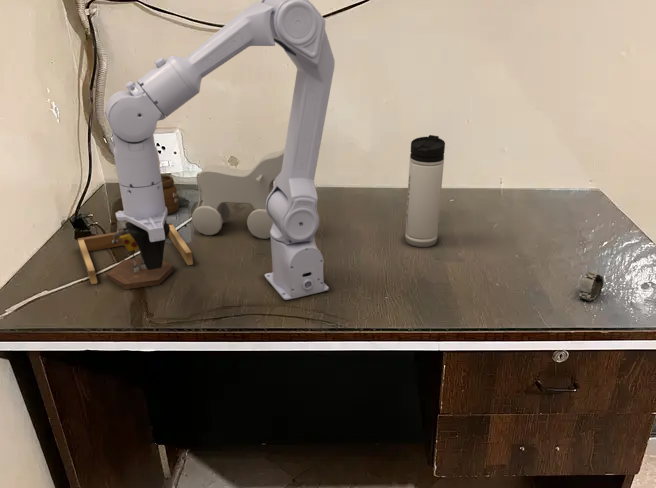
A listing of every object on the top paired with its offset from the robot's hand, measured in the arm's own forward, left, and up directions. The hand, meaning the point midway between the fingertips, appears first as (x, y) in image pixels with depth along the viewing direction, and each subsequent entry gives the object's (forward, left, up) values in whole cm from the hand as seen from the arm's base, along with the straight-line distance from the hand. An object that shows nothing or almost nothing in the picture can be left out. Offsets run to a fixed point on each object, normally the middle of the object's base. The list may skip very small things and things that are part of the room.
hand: (154, 267), depth 94 cm
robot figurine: (+12, 0, -7) cm, 14 cm away
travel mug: (+3, -51, -7) cm, 52 cm away
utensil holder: (+40, -10, -7) cm, 42 cm away
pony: (+22, -22, -7) cm, 32 cm away
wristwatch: (-28, -64, -7) cm, 70 cm away
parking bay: (+19, 0, -7) cm, 20 cm away
